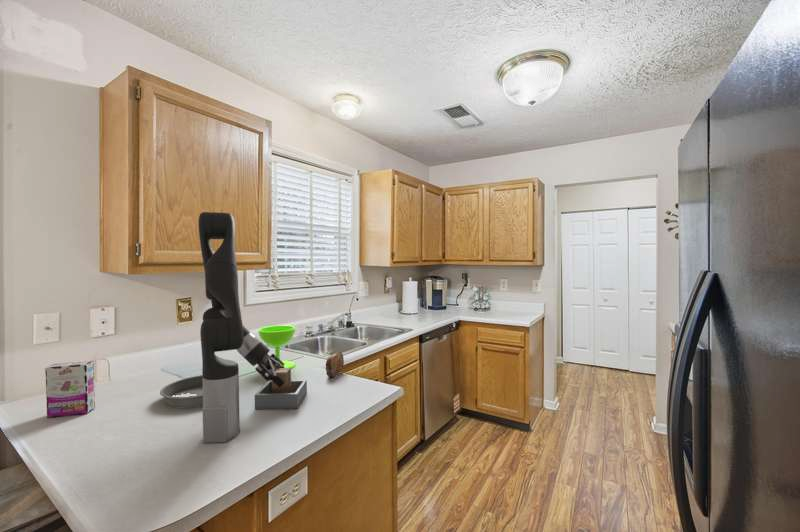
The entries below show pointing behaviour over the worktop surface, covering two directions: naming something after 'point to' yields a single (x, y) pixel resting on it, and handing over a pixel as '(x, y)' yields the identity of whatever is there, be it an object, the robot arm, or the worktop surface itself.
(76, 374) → the candy bar box
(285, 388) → the brown wooden block
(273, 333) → the wineglass
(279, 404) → the box
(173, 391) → the cake pan
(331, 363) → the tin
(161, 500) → the worktop surface
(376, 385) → the worktop surface
